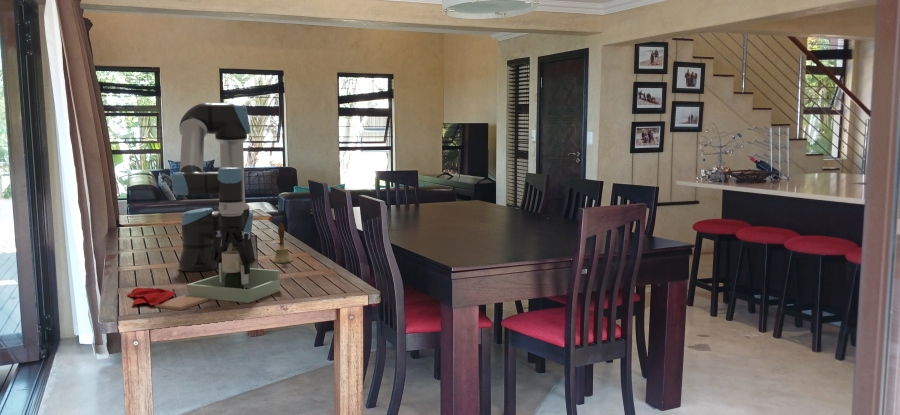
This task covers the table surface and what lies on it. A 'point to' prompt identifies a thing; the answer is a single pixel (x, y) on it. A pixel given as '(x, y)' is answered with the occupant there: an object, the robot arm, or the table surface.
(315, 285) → the table surface
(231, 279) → the character mug
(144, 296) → the cloth
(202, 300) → the terracotta tile
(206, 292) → the frame
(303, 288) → the table surface
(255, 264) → the coffee box
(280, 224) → the hand bell
